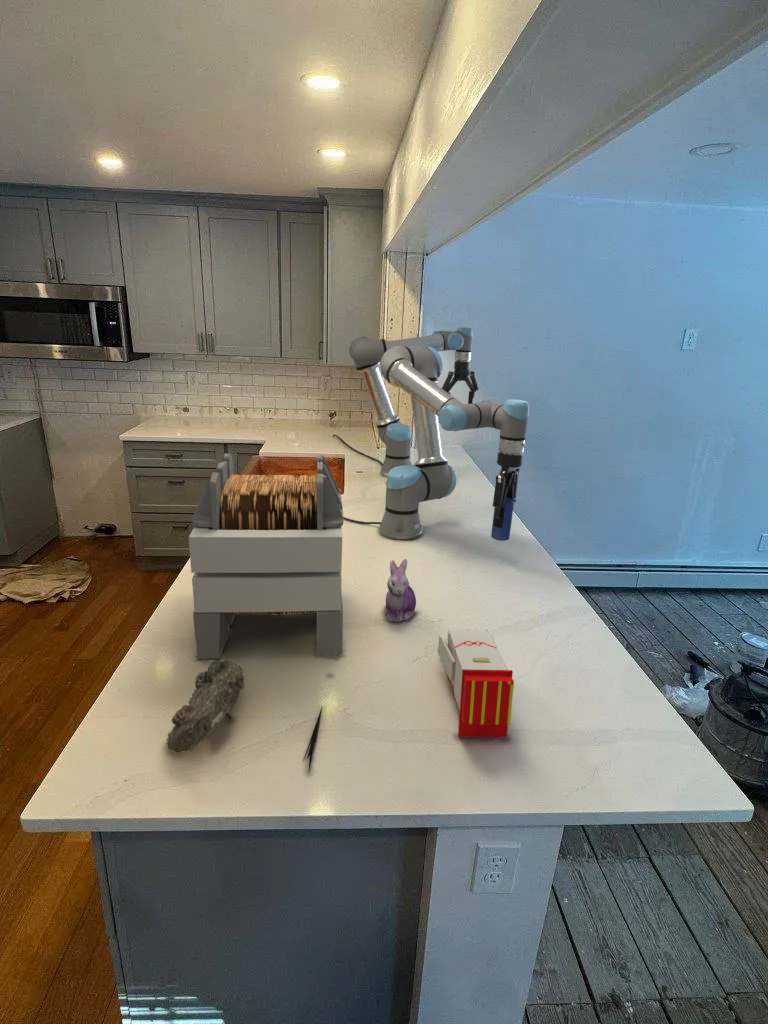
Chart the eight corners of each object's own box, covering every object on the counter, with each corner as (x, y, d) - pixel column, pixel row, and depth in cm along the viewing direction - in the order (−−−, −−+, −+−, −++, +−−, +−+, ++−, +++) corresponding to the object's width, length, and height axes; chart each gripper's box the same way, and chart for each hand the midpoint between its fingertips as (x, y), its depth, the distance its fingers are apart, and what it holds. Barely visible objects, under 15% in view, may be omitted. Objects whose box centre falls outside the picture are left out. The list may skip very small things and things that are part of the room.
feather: (331, 679, 122) (336, 673, 122) (307, 777, 96) (313, 769, 95) (324, 675, 122) (329, 669, 121) (298, 772, 95) (304, 764, 95)
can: (506, 542, 176) (511, 504, 172) (488, 538, 179) (493, 500, 174) (511, 536, 181) (516, 499, 177) (493, 532, 183) (498, 495, 179)
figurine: (392, 627, 141) (395, 572, 136) (374, 608, 149) (376, 556, 144) (425, 619, 145) (429, 566, 140) (405, 601, 154) (408, 550, 149)
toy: (488, 613, 130) (523, 677, 101) (484, 667, 133) (517, 744, 104) (435, 612, 130) (455, 676, 101) (432, 666, 133) (451, 743, 103)
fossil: (192, 660, 117) (244, 628, 112) (224, 691, 120) (276, 661, 115) (142, 746, 98) (202, 712, 93) (182, 779, 101) (242, 748, 96)
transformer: (219, 588, 156) (210, 443, 142) (338, 587, 160) (340, 446, 146) (193, 661, 124) (179, 483, 110) (343, 657, 128) (346, 485, 114)
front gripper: (510, 460, 161) (501, 535, 169) (533, 449, 176) (523, 518, 184) (486, 455, 165) (478, 529, 173) (510, 445, 180) (502, 513, 188)
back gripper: (444, 361, 264) (441, 407, 272) (488, 361, 275) (483, 405, 283) (436, 360, 271) (433, 404, 278) (479, 360, 282) (475, 403, 289)
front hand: (501, 523), depth 178 cm, fingers closed on can, 6 cm apart
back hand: (458, 405), depth 280 cm, fingers open, 13 cm apart
